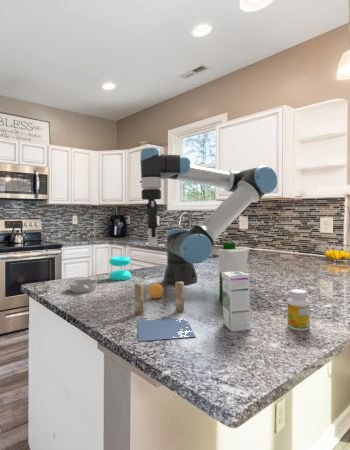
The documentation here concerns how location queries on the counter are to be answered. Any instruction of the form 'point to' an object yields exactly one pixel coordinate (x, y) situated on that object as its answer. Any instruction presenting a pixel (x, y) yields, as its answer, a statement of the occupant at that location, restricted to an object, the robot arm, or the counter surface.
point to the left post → (139, 299)
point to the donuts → (120, 273)
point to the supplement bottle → (298, 310)
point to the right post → (179, 296)
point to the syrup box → (236, 300)
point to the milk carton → (231, 261)
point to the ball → (155, 290)
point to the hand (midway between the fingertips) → (152, 244)
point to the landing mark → (162, 329)
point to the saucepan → (83, 285)
